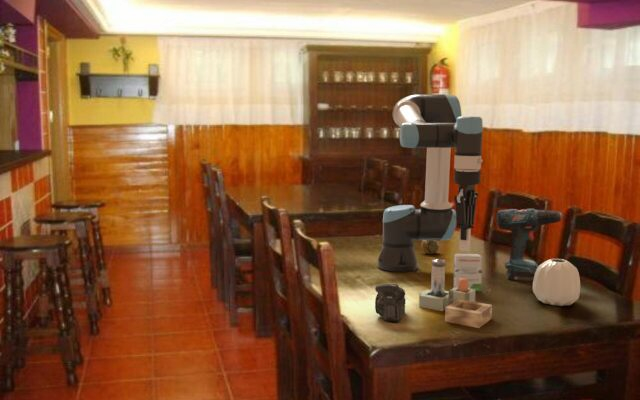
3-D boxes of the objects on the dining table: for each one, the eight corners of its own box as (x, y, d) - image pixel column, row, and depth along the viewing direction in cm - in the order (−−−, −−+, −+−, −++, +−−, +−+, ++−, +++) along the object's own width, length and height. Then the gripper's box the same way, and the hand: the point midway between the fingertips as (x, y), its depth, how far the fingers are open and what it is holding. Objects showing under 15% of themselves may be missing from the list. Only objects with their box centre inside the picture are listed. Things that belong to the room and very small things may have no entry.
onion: (442, 252, 268) (443, 233, 266) (435, 256, 261) (435, 237, 260) (425, 250, 272) (426, 232, 270) (418, 253, 265) (418, 235, 264)
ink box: (478, 287, 214) (480, 253, 212) (481, 291, 209) (483, 256, 208) (452, 287, 214) (454, 252, 213) (455, 291, 210) (456, 256, 208)
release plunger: (456, 296, 189) (457, 279, 188) (460, 293, 191) (460, 277, 190) (465, 297, 187) (466, 281, 187) (469, 295, 190) (469, 279, 189)
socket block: (416, 306, 193) (416, 287, 192) (429, 298, 201) (429, 280, 200) (465, 315, 184) (465, 295, 184) (476, 307, 192) (477, 288, 191)
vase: (575, 312, 188) (577, 267, 187) (527, 304, 196) (529, 261, 194) (583, 300, 200) (586, 258, 198) (538, 293, 207) (540, 253, 206)
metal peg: (428, 305, 194) (429, 260, 192) (433, 302, 197) (435, 258, 195) (440, 308, 191) (442, 262, 190) (446, 304, 195) (447, 259, 193)
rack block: (444, 321, 179) (445, 307, 179) (458, 312, 187) (458, 299, 187) (479, 328, 174) (479, 314, 173) (491, 318, 182) (492, 304, 181)
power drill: (563, 282, 221) (567, 211, 217) (494, 279, 225) (497, 209, 222) (559, 276, 229) (563, 207, 226) (493, 273, 234) (496, 205, 230)
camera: (370, 309, 190) (371, 277, 188) (403, 309, 190) (404, 276, 189) (377, 324, 176) (378, 289, 175) (413, 324, 177) (414, 289, 176)
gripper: (471, 172, 177) (468, 255, 180) (487, 169, 187) (484, 248, 191) (446, 171, 181) (443, 252, 184) (463, 168, 192) (460, 245, 195)
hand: (464, 250), depth 187 cm, fingers closed
